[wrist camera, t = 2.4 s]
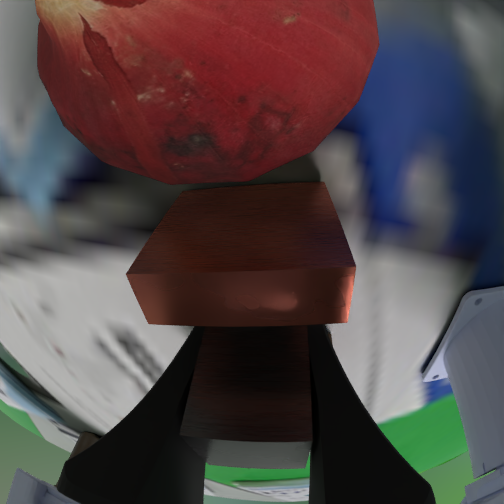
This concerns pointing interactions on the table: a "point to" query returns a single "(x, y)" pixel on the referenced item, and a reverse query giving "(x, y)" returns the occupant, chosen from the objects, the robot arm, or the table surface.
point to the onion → (204, 80)
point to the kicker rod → (248, 311)
